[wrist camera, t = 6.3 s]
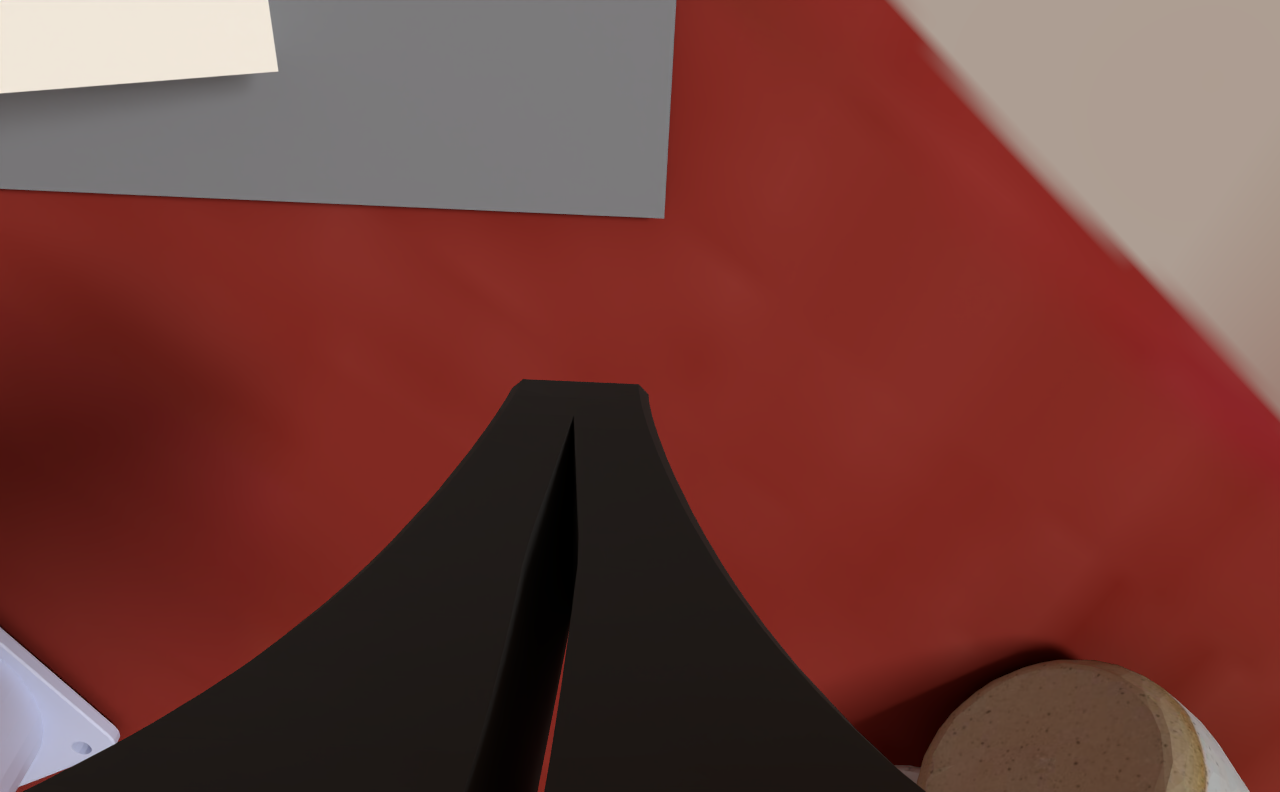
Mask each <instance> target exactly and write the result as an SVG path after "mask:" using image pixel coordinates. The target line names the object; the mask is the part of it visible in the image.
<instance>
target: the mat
mask: <svg viewBox="0 0 1280 792" xmlns="http://www.w3.org/2000/svg"><path fill="white" fill-rule="evenodd" d="M268 2H269V9H270V16H271V23H272V30H273V37H274V44H275V51H276V58H277V65H278V72H265V73H253V74H240V75H227V76H215V77H202V78H189V79H177V80H164V81H151V82H139V83H126V84H113V85H101V86H88V87H76V88H63V89H50V90H38V91H25V92H12V93H0V189H17V190H40V191H62V192H85V193H107V194H129V195H152V196H174V197H196V198H219V199H241V200H263V201H286V202H308V203H330V204H353V205H375V206H397V207H420V208H442V209H464V210H487V211H509V212H531V213H554V214H576V215H599V216H621V217H643V218H664V211H665V193H666V174H667V156H668V138H669V120H670V102H671V84H672V66H673V48H674V30H675V12H676V0H268Z"/></svg>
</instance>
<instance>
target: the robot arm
mask: <svg viewBox="0 0 1280 792" xmlns="http://www.w3.org/2000/svg"><path fill="white" fill-rule="evenodd" d="M568 633H569V635H568ZM567 638H568V643H567ZM566 643H567V650H566V657H565V664H564V671H563V679H562V686H561V692H560V699H559V705H558V711H557V718H556V724H555V731H554V737H553V744H552V750H551V757H550V763H549V768H548V774H547V780H546V785H545V791H544V792H926V791H924V790H923V789H922V788H921V787H919V786H918V785H917V784H916V783H915V782H913V781H912V780H911V779H910V778H908V777H907V776H906V775H905V774H903V773H902V772H901V771H900V770H899V769H897V768H896V767H895V766H894V765H893V764H892V763H891V762H890V761H889V760H888V759H887V758H886V757H885V756H884V755H883V754H882V753H881V752H879V751H878V750H877V749H876V748H875V747H874V746H873V745H872V744H871V743H870V742H869V741H868V740H867V739H866V738H865V737H864V736H863V735H861V734H860V733H859V732H858V731H857V730H856V729H855V728H854V727H853V726H852V724H851V723H850V722H849V721H848V720H847V719H846V718H845V717H844V716H843V715H842V714H841V713H840V712H839V710H838V709H837V708H836V707H835V706H834V705H833V704H832V703H831V702H830V701H829V700H828V699H827V698H826V697H825V695H824V694H823V693H822V692H821V691H820V690H819V689H818V688H817V687H816V686H815V685H814V684H813V683H812V681H811V680H810V679H809V678H808V677H807V676H806V675H805V674H804V673H803V672H802V671H801V670H800V669H799V667H798V666H797V665H796V664H795V663H794V662H793V660H792V659H791V658H790V657H789V655H788V654H787V653H786V652H785V650H784V649H783V648H782V647H781V645H780V644H779V643H778V642H777V641H776V639H775V638H774V637H773V636H772V634H771V633H770V632H769V631H768V629H767V628H766V627H765V625H764V624H763V623H762V621H761V620H760V619H759V617H758V616H757V614H756V613H755V612H754V610H753V609H752V608H751V606H750V605H749V604H748V602H747V601H746V599H745V598H744V597H743V595H742V594H741V592H740V591H739V589H738V588H737V586H736V585H735V583H734V582H733V580H732V579H731V577H730V576H729V574H728V573H727V571H726V569H725V568H724V566H723V565H722V563H721V562H720V560H719V558H718V557H717V555H716V553H715V551H714V550H713V548H712V546H711V545H710V543H709V541H708V540H707V538H706V536H705V535H704V533H703V531H702V529H701V527H700V526H699V524H698V522H697V520H696V518H695V516H694V515H693V513H692V511H691V509H690V507H689V505H688V503H687V501H686V498H685V496H684V494H683V492H682V490H681V488H680V486H679V484H678V482H677V480H676V478H675V476H674V474H673V471H672V469H671V467H670V465H669V462H668V460H667V457H666V455H665V452H664V450H663V447H662V444H661V442H660V439H659V437H658V434H657V431H656V428H655V424H654V421H653V417H652V414H651V409H650V405H649V396H648V394H647V393H646V392H645V391H644V389H643V388H642V387H641V386H640V385H639V384H617V383H595V382H572V381H549V380H527V379H523V380H522V381H520V382H519V383H518V384H517V385H516V386H514V387H513V388H512V390H511V391H510V393H509V395H508V396H507V398H506V400H505V401H504V403H503V404H502V406H501V408H500V409H499V411H498V412H497V414H496V415H495V417H494V418H493V420H492V421H491V422H490V424H489V425H488V427H487V428H486V430H485V431H484V432H483V434H482V435H481V436H480V438H479V439H478V441H477V442H476V443H475V445H474V446H473V447H472V449H471V450H470V451H469V453H468V454H467V455H466V456H465V458H464V459H463V460H462V461H461V463H460V464H459V465H458V466H457V468H456V469H455V470H454V471H453V472H452V474H451V475H450V476H449V477H448V479H447V480H446V481H445V482H444V484H443V485H442V486H441V487H440V489H439V490H438V491H437V492H436V493H435V494H434V496H433V497H432V498H431V499H430V500H429V501H428V502H427V504H426V505H425V506H424V507H423V508H422V509H421V510H420V511H419V512H418V513H417V514H416V515H415V516H414V518H413V519H412V520H411V521H410V522H409V523H408V524H407V525H406V526H405V527H404V528H403V529H402V530H401V532H400V533H399V534H398V535H397V536H396V537H395V538H394V539H393V540H392V541H391V542H390V543H389V544H388V545H387V546H386V547H385V548H384V549H383V550H382V551H381V552H380V553H379V554H378V555H377V556H376V557H375V558H374V559H373V560H372V561H371V562H370V563H369V564H368V565H367V566H366V567H365V568H364V569H363V570H362V571H361V572H359V573H358V574H357V575H356V576H355V577H354V578H353V579H352V580H351V581H350V582H348V583H347V584H346V585H345V586H344V587H343V588H342V589H340V590H339V591H338V592H337V593H336V594H335V595H334V596H333V597H331V598H330V599H329V600H328V601H327V602H326V603H324V604H323V605H322V606H321V607H320V608H318V609H317V610H316V611H315V612H313V613H312V614H311V615H310V616H308V617H307V618H306V619H305V620H303V621H302V622H301V623H300V624H298V625H297V626H296V627H294V628H293V629H292V630H291V631H289V632H288V633H287V634H286V635H284V636H283V637H282V638H281V639H279V640H278V641H277V642H275V643H274V644H273V645H271V646H270V647H269V648H267V649H266V650H265V651H263V652H262V653H261V654H259V655H258V656H257V657H255V658H254V659H252V660H251V661H250V662H248V663H247V664H245V665H244V666H243V667H241V668H240V669H238V670H237V671H235V672H234V673H232V674H231V675H229V676H227V677H226V678H224V679H223V680H221V681H220V682H218V683H217V684H215V685H214V686H212V687H211V688H209V689H208V690H206V691H204V692H203V693H201V694H200V695H198V696H197V697H195V698H193V699H192V700H190V701H188V702H187V703H185V704H183V705H182V706H180V707H178V708H177V709H175V710H174V711H172V712H170V713H169V714H167V715H165V716H164V717H162V718H160V719H159V720H157V721H155V722H154V723H152V724H150V725H148V726H147V727H145V728H143V729H141V730H140V731H138V732H136V733H134V734H133V735H131V736H129V737H127V738H125V739H123V740H122V741H120V742H118V740H119V737H120V734H119V731H118V729H117V728H116V727H115V726H114V725H113V724H112V723H111V722H110V721H108V720H107V719H106V718H105V717H104V716H103V715H101V714H100V713H99V712H98V711H97V710H96V709H95V708H93V707H92V706H91V705H90V704H89V703H88V702H86V701H85V700H84V699H83V698H82V697H81V696H79V695H78V694H77V693H76V692H75V691H74V690H72V689H71V688H70V687H69V686H68V685H67V684H66V683H64V682H63V681H62V680H61V679H60V678H59V677H57V676H56V675H55V674H54V673H53V672H52V671H50V670H49V669H48V668H47V667H46V666H45V665H44V664H42V663H41V662H40V661H39V660H38V659H37V658H35V657H34V656H33V655H32V654H31V653H30V652H28V651H27V650H26V649H25V648H24V647H23V646H22V645H20V644H19V643H18V642H17V641H16V640H15V639H13V638H12V637H11V636H10V635H9V634H8V633H6V632H5V631H4V630H3V629H2V628H1V627H0V792H16V790H17V788H18V787H20V786H22V785H25V784H27V783H30V782H33V781H35V780H38V779H40V778H43V777H46V776H48V775H51V774H53V773H56V772H59V771H61V770H64V769H66V768H68V769H66V770H64V771H62V772H61V773H59V774H57V775H55V776H53V777H51V778H49V779H47V780H45V781H43V782H42V783H40V784H38V785H35V786H33V787H31V788H29V789H27V790H25V791H23V792H537V791H538V786H539V780H540V775H541V770H542V765H543V760H544V755H545V750H546V745H547V740H548V735H549V730H550V725H551V720H552V715H553V710H554V705H555V700H556V695H557V689H558V684H559V679H560V674H561V669H562V664H563V659H564V654H565V649H566ZM117 742H118V743H117ZM69 767H70V768H69Z"/></svg>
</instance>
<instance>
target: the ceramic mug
mask: <svg viewBox="0 0 1280 792" xmlns="http://www.w3.org/2000/svg"><path fill="white" fill-rule="evenodd" d="M894 766H895V767H896V768H897V769H899V770H900V771H901V772H902V773H903V774H905V775H906V776H907V777H908V778H910V779H911V780H912V781H913V782H915V783H916V784H917V785H918V786H919V787H921V788H922V789H923V790H924V791H926V792H1249V790H1248V789H1247V787H1246V785H1245V784H1244V782H1243V781H1242V779H1241V778H1240V776H1239V775H1238V773H1237V772H1236V770H1235V769H1234V767H1233V766H1232V764H1231V763H1230V761H1229V759H1228V758H1227V756H1226V755H1225V753H1224V752H1223V750H1222V749H1221V747H1220V745H1219V744H1218V743H1217V741H1216V740H1215V739H1214V738H1213V736H1212V735H1211V734H1210V733H1209V731H1208V730H1207V729H1206V728H1205V726H1204V725H1203V724H1202V723H1201V722H1200V721H1199V720H1198V719H1197V718H1196V717H1195V716H1194V715H1193V714H1192V713H1191V712H1190V711H1189V710H1187V709H1186V708H1185V707H1184V706H1183V705H1182V704H1181V703H1180V702H1179V701H1177V700H1176V699H1175V698H1174V697H1173V696H1171V695H1170V694H1169V693H1168V692H1167V691H1166V690H1164V689H1163V688H1162V687H1160V686H1159V685H1157V684H1156V683H1154V682H1153V681H1151V680H1149V679H1148V678H1146V677H1145V676H1143V675H1140V674H1138V673H1135V672H1133V671H1131V670H1128V669H1126V668H1124V667H1121V666H1119V665H1115V664H1110V663H1106V662H1101V661H1096V660H1054V661H1048V662H1042V663H1038V664H1034V665H1031V666H1027V667H1023V668H1021V669H1019V670H1016V671H1014V672H1011V673H1009V674H1007V675H1004V676H1002V677H1000V678H997V679H995V680H993V681H991V682H990V683H988V684H987V685H985V686H984V687H982V688H981V689H979V690H978V691H976V692H975V693H974V694H973V695H972V696H970V697H969V698H968V699H967V700H966V701H964V702H963V703H962V704H961V705H960V706H959V707H958V708H957V709H956V710H954V711H953V712H952V714H951V715H950V716H949V717H948V718H947V720H946V721H945V722H944V723H943V725H942V726H941V727H940V728H939V730H938V731H937V733H936V735H935V737H934V738H933V740H932V742H931V744H930V746H929V748H928V749H927V751H926V753H925V755H924V758H923V762H922V765H921V767H914V766H911V765H894Z"/></svg>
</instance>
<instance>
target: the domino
mask: <svg viewBox="0 0 1280 792" xmlns="http://www.w3.org/2000/svg"><path fill="white" fill-rule="evenodd" d="M265 72H278V65H277V58H276V51H275V44H274V37H273V30H272V23H271V16H270V9H269V2H268V0H0V93H12V92H25V91H38V90H50V89H63V88H76V87H88V86H101V85H113V84H126V83H139V82H151V81H164V80H177V79H189V78H202V77H215V76H227V75H240V74H253V73H265Z"/></svg>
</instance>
